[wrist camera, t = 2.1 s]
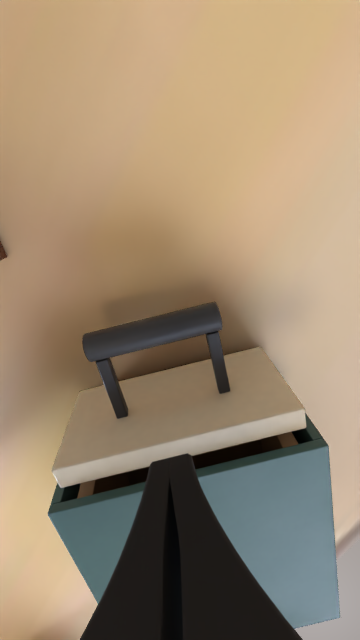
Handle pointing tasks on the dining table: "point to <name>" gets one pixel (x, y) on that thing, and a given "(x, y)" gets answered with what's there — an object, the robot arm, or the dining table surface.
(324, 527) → the cabinet
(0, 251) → the dark brown chunk
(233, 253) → the dining table surface
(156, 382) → the drawer
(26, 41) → the dining table surface
